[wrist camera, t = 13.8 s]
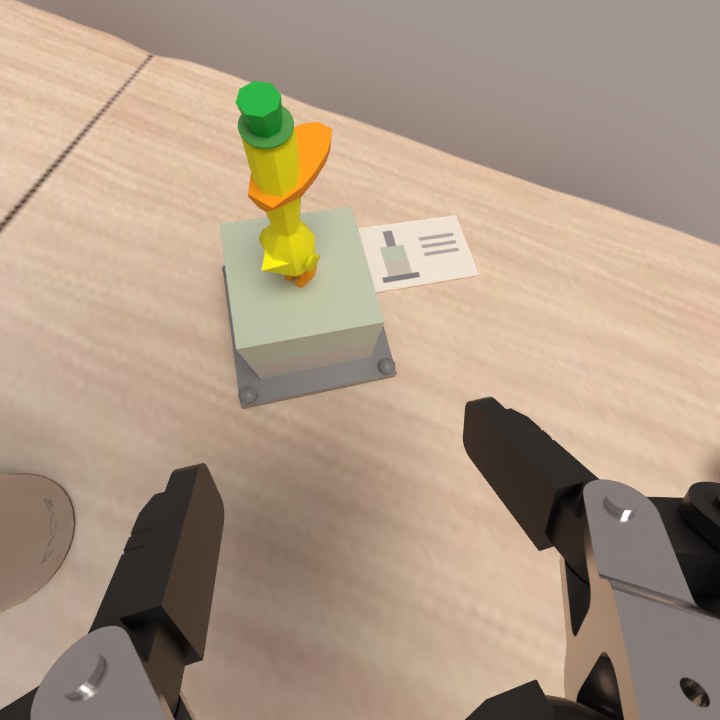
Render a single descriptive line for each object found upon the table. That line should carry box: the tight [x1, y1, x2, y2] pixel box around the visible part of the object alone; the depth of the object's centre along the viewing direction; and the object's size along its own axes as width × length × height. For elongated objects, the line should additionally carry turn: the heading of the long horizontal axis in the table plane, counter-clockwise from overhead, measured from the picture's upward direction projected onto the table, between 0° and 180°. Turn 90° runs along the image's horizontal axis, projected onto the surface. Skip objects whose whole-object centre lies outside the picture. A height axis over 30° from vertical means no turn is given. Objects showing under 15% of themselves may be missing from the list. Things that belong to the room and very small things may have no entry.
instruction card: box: [358, 215, 479, 293], centre depth 35 cm, size 12×8×1 cm, turn 103°
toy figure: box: [236, 81, 332, 288], centre depth 17 cm, size 7×4×12 cm, turn 149°
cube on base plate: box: [219, 207, 397, 409], centre depth 27 cm, size 14×14×9 cm
